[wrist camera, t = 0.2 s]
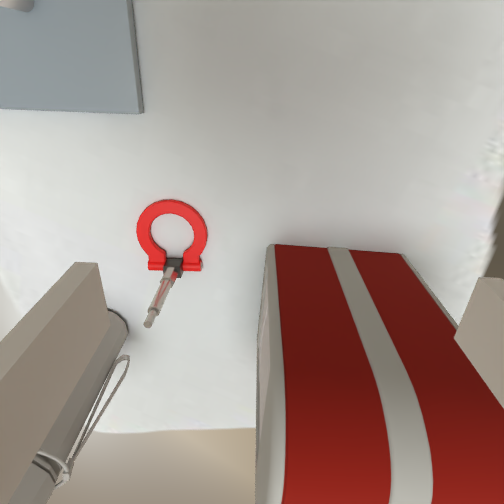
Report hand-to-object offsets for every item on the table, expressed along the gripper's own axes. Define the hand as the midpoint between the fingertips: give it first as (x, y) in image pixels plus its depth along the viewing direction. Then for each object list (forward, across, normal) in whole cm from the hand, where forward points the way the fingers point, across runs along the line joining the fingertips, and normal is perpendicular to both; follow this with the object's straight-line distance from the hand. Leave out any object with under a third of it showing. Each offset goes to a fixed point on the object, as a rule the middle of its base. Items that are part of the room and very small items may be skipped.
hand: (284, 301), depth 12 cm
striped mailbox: (+28, +9, -20) cm, 36 cm away
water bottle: (+28, -21, -26) cm, 44 cm away
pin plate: (+28, -22, +12) cm, 37 cm away
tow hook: (+28, -11, -11) cm, 32 cm away
